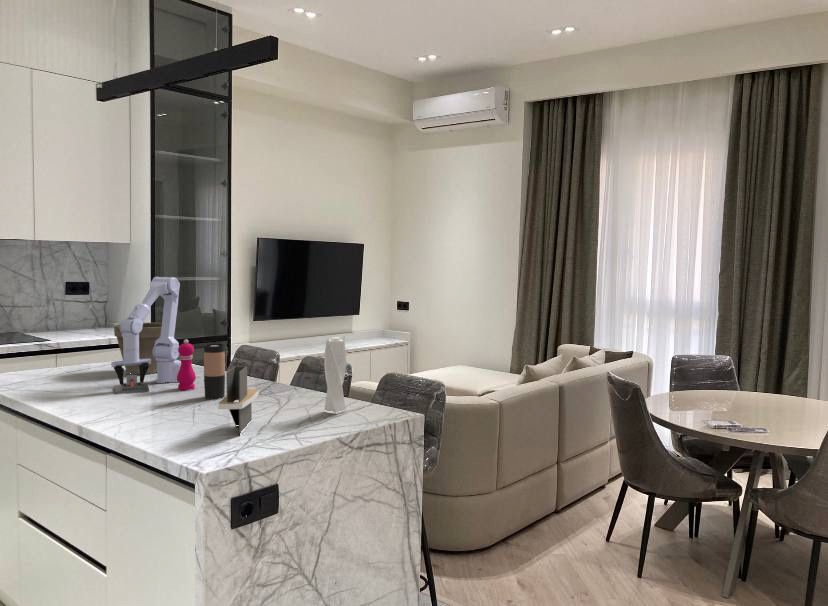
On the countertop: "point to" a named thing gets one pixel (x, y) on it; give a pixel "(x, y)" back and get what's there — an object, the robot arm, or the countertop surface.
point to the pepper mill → (186, 367)
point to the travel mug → (214, 371)
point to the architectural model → (239, 397)
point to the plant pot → (143, 345)
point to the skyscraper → (335, 373)
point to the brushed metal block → (131, 379)
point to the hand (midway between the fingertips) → (131, 383)
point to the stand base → (131, 388)
